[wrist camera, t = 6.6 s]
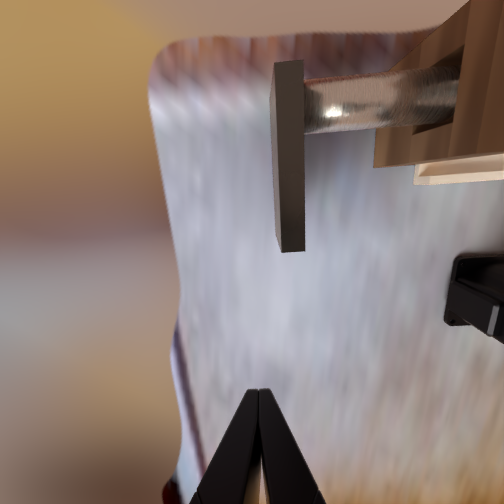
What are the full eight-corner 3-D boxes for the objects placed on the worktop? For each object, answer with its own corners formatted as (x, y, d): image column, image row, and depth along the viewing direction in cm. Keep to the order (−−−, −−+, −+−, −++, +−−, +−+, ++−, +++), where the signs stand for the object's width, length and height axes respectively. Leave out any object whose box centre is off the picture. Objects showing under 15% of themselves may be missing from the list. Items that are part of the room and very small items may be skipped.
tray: (580, 34, 16) (620, 15, 14) (543, 175, 18) (573, 174, 16) (428, 49, 16) (449, 32, 14) (413, 184, 19) (428, 184, 17)
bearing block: (422, 74, 16) (603, -46, 8) (412, 164, 18) (552, 147, 10) (379, 78, 17) (510, -36, 8) (373, 167, 18) (475, 153, 10)
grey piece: (420, 85, 13) (494, 40, 9) (405, 226, 16) (458, 241, 11) (269, 99, 14) (274, 62, 10) (275, 234, 16) (281, 252, 12)
